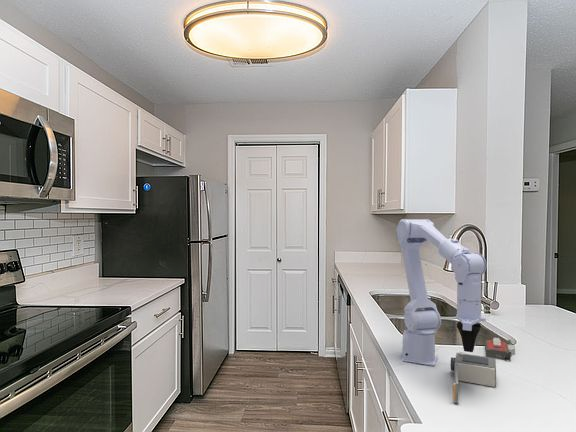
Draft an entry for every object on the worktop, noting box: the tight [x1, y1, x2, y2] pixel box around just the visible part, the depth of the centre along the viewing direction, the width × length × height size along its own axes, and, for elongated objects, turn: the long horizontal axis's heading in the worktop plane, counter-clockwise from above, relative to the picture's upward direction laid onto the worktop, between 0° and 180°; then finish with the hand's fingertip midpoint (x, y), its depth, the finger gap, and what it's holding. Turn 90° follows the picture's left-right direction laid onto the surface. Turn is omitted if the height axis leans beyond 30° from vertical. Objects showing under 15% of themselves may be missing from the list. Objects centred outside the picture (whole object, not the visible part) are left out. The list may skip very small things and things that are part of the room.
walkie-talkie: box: [484, 337, 516, 361], centre depth 130 cm, size 9×4×20 cm
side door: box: [452, 363, 459, 404], centre depth 99 cm, size 14×1×5 cm, turn 157°
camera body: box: [450, 351, 497, 388], centre depth 108 cm, size 11×8×6 cm
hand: (468, 351), depth 102 cm, fingers closed
